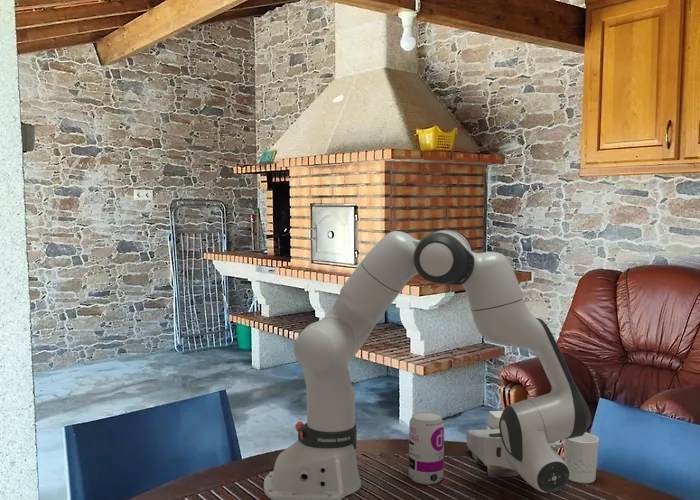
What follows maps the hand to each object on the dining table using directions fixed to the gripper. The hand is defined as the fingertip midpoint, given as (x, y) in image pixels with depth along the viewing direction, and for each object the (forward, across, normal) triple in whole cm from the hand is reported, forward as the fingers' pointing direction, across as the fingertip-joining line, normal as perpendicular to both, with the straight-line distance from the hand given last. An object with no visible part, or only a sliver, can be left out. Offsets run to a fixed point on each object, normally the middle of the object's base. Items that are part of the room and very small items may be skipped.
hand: (498, 429), depth 153 cm
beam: (+5, 0, +10) cm, 11 cm away
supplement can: (-2, +19, +11) cm, 22 cm away
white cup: (-6, -18, +11) cm, 22 cm away
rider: (-1, 0, +6) cm, 6 cm away
